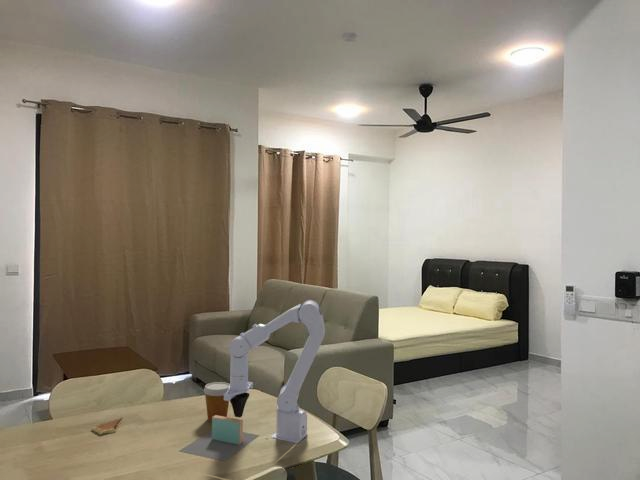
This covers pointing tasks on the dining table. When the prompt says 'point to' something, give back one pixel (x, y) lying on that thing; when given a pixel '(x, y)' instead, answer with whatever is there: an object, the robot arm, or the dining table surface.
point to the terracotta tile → (227, 429)
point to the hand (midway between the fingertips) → (238, 416)
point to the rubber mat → (216, 447)
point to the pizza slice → (107, 427)
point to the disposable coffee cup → (216, 399)
